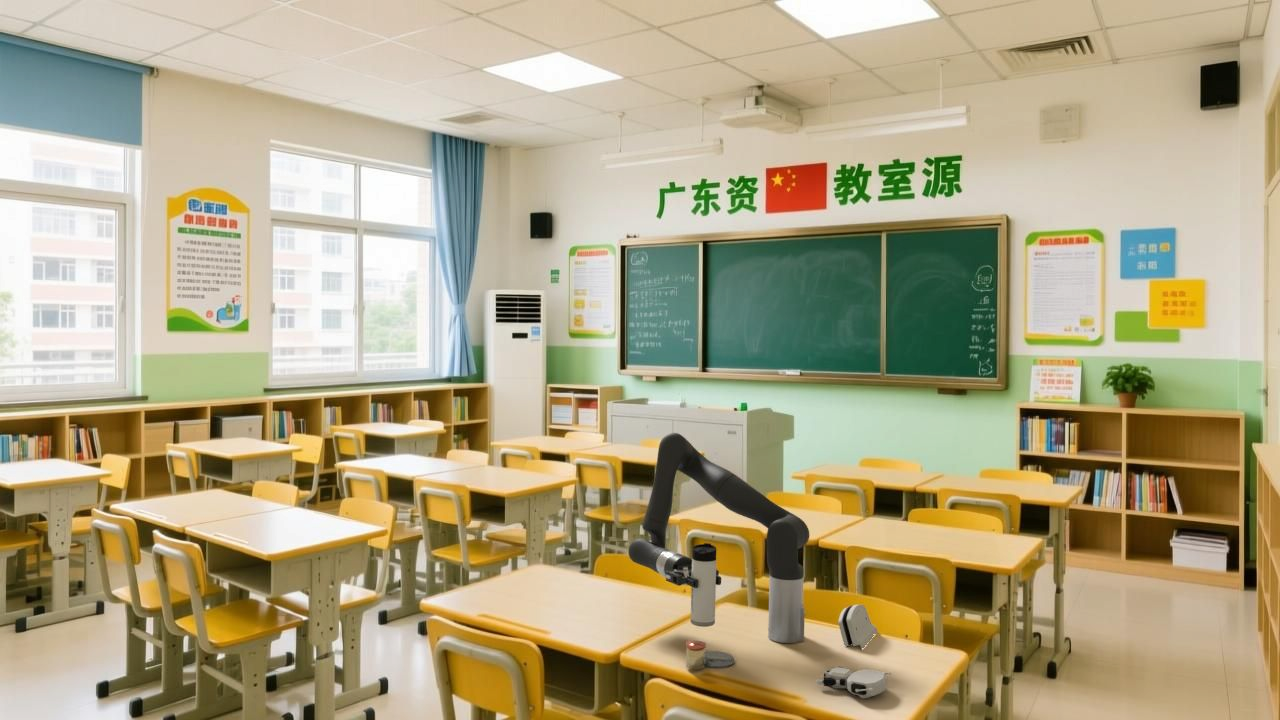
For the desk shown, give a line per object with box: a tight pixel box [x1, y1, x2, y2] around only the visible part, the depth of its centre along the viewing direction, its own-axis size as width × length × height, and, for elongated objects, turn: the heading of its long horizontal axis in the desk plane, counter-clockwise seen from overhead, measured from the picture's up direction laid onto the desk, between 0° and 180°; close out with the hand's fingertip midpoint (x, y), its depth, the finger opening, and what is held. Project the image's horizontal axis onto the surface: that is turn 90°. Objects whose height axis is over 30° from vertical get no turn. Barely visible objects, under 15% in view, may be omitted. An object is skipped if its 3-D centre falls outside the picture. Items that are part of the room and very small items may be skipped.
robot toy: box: [816, 666, 892, 699], centre depth 205 cm, size 12×4×15 cm
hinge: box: [837, 604, 879, 649], centre depth 241 cm, size 17×5×10 cm, turn 151°
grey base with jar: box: [685, 639, 735, 671], centre depth 220 cm, size 16×10×6 cm, turn 138°
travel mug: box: [690, 542, 717, 628], centre depth 225 cm, size 6×7×20 cm
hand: (708, 582), depth 223 cm, fingers closed on travel mug, 6 cm apart
